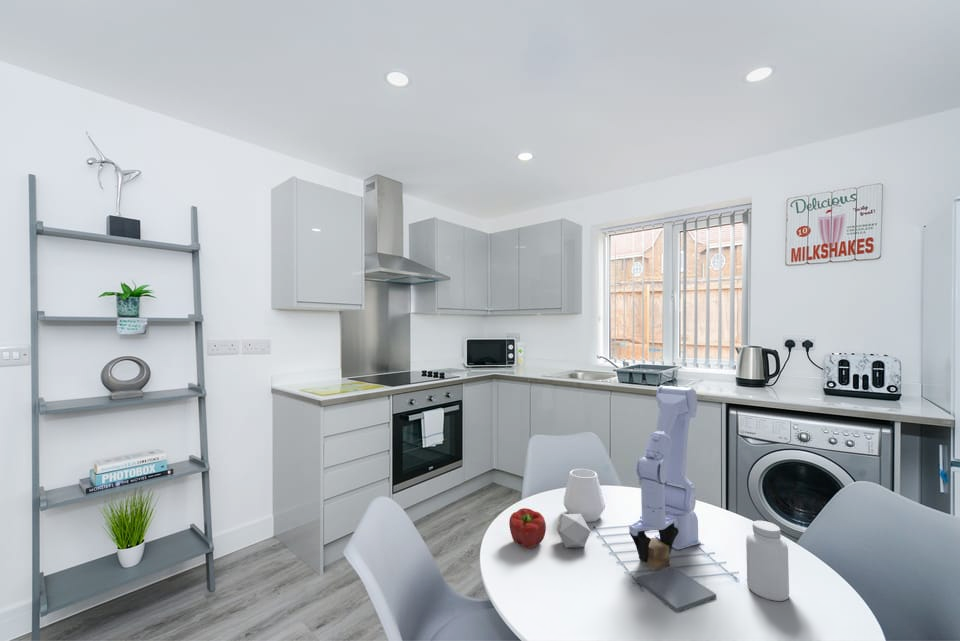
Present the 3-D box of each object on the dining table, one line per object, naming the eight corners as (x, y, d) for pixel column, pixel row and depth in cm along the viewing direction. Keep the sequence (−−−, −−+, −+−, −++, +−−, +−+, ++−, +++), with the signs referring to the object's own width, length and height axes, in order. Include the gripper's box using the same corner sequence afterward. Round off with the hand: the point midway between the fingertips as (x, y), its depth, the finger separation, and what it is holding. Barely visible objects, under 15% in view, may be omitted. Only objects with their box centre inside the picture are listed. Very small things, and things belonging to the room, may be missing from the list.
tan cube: (654, 556, 109) (654, 537, 109) (669, 566, 104) (669, 546, 104) (640, 560, 107) (639, 541, 107) (654, 570, 102) (654, 550, 102)
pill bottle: (791, 607, 88) (789, 536, 89) (747, 594, 92) (745, 528, 93) (787, 587, 95) (785, 522, 95) (746, 576, 99) (744, 514, 100)
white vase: (611, 525, 127) (609, 480, 127) (568, 525, 127) (567, 480, 127) (598, 506, 140) (598, 466, 140) (560, 507, 140) (559, 466, 141)
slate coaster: (673, 569, 103) (672, 566, 103) (716, 597, 91) (716, 593, 91) (635, 580, 98) (635, 577, 98) (676, 611, 87) (676, 608, 87)
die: (583, 559, 109) (599, 523, 112) (554, 540, 110) (569, 505, 114) (576, 554, 117) (591, 521, 120) (548, 536, 118) (563, 504, 122)
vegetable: (548, 555, 110) (547, 518, 110) (510, 555, 110) (509, 518, 110) (543, 535, 120) (543, 501, 121) (509, 535, 121) (508, 501, 121)
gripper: (662, 494, 112) (663, 544, 112) (620, 503, 107) (621, 555, 107) (683, 504, 106) (684, 557, 105) (640, 514, 100) (641, 569, 100)
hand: (654, 557), depth 106 cm, fingers open, 7 cm apart
